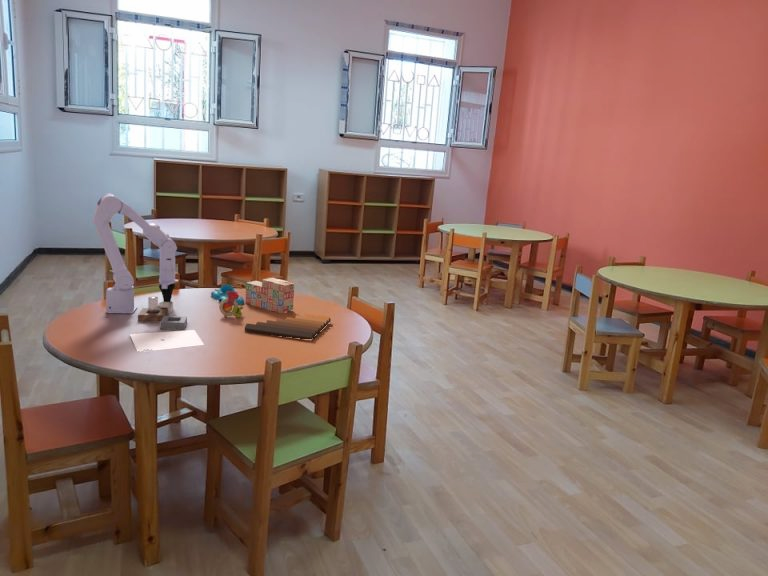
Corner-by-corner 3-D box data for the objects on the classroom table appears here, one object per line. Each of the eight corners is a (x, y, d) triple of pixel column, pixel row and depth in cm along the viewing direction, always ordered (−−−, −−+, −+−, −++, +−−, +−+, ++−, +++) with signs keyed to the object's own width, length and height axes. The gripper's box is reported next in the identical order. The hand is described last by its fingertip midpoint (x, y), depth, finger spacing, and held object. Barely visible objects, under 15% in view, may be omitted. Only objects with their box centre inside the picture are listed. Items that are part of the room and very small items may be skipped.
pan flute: (244, 333, 206) (310, 343, 202) (244, 324, 205) (311, 334, 201) (270, 316, 230) (330, 324, 226) (270, 307, 229) (330, 316, 225)
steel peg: (147, 319, 211) (147, 298, 209) (149, 316, 214) (149, 296, 212) (157, 319, 211) (156, 298, 210) (158, 317, 214) (158, 296, 213)
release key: (158, 313, 218) (158, 306, 217) (161, 308, 224) (161, 301, 224) (169, 313, 218) (169, 306, 218) (172, 308, 225) (172, 301, 225)
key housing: (156, 314, 217) (156, 306, 217) (159, 310, 223) (159, 301, 222) (170, 314, 218) (170, 306, 218) (173, 310, 224) (173, 302, 223)
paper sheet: (201, 331, 203) (201, 328, 203) (213, 363, 178) (213, 360, 178) (129, 334, 193) (129, 331, 193) (131, 368, 168) (130, 365, 168)
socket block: (137, 321, 207) (137, 314, 207) (142, 314, 216) (142, 308, 215) (164, 321, 209) (164, 315, 209) (167, 315, 218) (167, 308, 217)
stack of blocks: (244, 303, 243) (245, 275, 240) (255, 301, 248) (256, 273, 245) (283, 314, 232) (284, 284, 230) (293, 311, 238) (294, 282, 235)
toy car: (233, 295, 256) (233, 280, 255) (247, 305, 242) (247, 290, 240) (208, 296, 250) (209, 281, 249) (221, 307, 236) (222, 291, 234)
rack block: (160, 329, 201) (160, 322, 201) (163, 322, 209) (163, 315, 208) (184, 329, 203) (184, 322, 202) (186, 322, 211) (187, 316, 210)
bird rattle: (227, 324, 219) (248, 314, 222) (215, 299, 215) (237, 290, 218) (224, 320, 225) (245, 310, 227) (213, 295, 221) (234, 286, 223)
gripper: (175, 273, 217) (175, 307, 220) (180, 265, 231) (180, 298, 234) (155, 272, 215) (155, 307, 218) (162, 264, 229) (162, 297, 232)
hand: (167, 302), depth 226 cm, fingers closed
